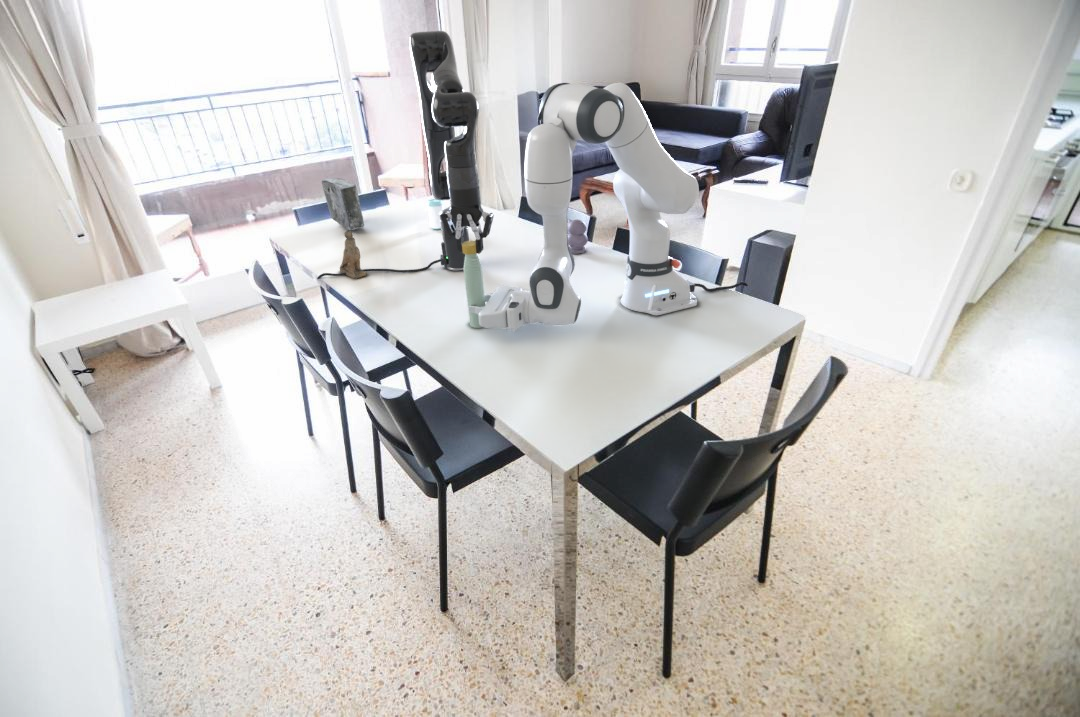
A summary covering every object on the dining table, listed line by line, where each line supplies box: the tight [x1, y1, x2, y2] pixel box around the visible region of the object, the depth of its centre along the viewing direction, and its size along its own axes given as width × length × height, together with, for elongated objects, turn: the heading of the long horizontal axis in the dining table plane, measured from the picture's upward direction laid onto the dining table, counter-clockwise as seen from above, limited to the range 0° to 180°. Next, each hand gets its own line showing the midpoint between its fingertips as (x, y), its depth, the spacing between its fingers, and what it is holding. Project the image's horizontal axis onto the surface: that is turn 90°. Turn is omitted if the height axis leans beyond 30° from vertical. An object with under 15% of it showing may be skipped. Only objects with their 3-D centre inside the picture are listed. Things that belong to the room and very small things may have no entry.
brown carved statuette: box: [339, 230, 367, 280], centre depth 174 cm, size 12×6×18 cm, turn 43°
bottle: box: [463, 253, 486, 329], centre depth 135 cm, size 5×5×23 cm
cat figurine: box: [567, 218, 589, 255], centre depth 187 cm, size 9×8×12 cm
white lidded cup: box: [426, 198, 445, 230], centre depth 220 cm, size 7×7×12 cm
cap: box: [462, 240, 478, 255], centre depth 130 cm, size 4×4×2 cm
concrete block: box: [321, 177, 365, 231], centre depth 223 cm, size 27×9×20 cm, turn 36°
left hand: (471, 251), depth 130 cm, fingers closed on cap, 4 cm apart
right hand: (473, 303), depth 138 cm, fingers closed on bottle, 5 cm apart
